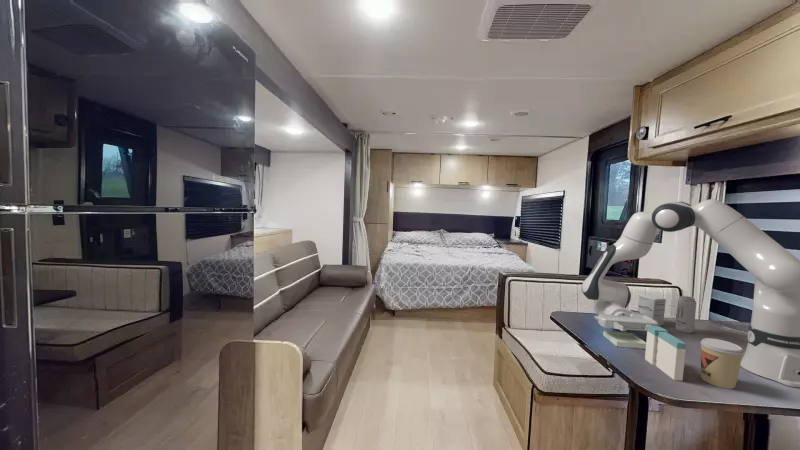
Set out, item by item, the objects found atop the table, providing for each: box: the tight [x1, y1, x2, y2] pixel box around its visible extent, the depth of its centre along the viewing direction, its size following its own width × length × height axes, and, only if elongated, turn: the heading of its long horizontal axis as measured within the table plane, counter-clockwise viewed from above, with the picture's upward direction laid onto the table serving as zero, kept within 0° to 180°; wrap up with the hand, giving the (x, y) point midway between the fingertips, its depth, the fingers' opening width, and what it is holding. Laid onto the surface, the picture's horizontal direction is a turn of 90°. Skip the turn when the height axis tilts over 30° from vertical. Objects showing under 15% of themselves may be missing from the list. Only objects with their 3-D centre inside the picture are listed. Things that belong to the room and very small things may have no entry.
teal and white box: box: [655, 332, 687, 382], centre depth 106 cm, size 3×9×12 cm, turn 172°
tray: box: [602, 330, 646, 350], centre depth 130 cm, size 11×11×2 cm
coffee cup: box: [700, 337, 744, 390], centre depth 101 cm, size 9×9×12 cm
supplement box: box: [637, 293, 667, 327], centre depth 151 cm, size 7×7×13 cm
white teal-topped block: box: [644, 326, 669, 366], centre depth 113 cm, size 4×4×12 cm
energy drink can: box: [675, 295, 697, 334], centre depth 142 cm, size 6×6×15 cm
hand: (638, 330), depth 123 cm, fingers open, 8 cm apart
